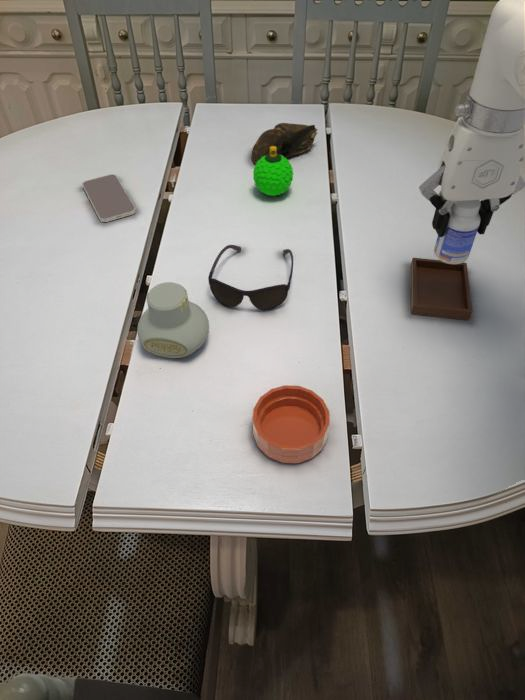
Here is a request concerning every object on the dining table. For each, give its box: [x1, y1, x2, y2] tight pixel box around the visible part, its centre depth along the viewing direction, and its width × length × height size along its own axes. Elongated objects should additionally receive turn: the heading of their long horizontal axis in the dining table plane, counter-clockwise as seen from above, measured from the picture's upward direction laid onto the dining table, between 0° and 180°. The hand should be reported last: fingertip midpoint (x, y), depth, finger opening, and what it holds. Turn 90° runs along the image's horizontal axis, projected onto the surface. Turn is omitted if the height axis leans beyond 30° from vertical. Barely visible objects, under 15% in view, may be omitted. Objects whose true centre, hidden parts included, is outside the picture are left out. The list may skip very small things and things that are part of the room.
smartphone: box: [82, 173, 137, 223], centre depth 109 cm, size 7×1×15 cm
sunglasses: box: [207, 244, 294, 311], centre depth 91 cm, size 14×16×5 cm
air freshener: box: [136, 281, 210, 359], centre depth 80 cm, size 11×8×10 cm
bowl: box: [252, 384, 331, 464], centre depth 71 cm, size 10×10×4 cm
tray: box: [410, 257, 473, 322], centre depth 90 cm, size 12×9×2 cm
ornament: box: [252, 146, 294, 197], centre depth 107 cm, size 8×8×10 cm
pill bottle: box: [433, 200, 481, 264], centre depth 81 cm, size 5×5×10 cm
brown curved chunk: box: [251, 122, 318, 165], centre depth 119 cm, size 16×9×7 cm, turn 122°
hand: (458, 229), depth 81 cm, fingers closed on pill bottle, 5 cm apart
